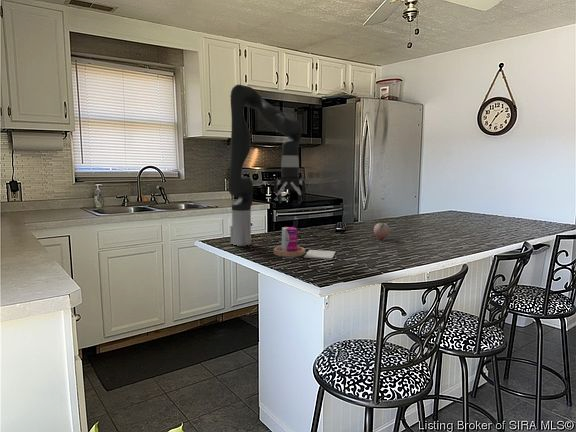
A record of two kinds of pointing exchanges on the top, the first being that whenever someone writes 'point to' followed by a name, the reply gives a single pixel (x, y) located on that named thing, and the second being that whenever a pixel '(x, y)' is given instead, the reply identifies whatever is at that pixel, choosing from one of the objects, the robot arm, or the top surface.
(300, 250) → the tan faceted ring
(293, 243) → the supplement box
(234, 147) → the robot arm
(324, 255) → the rubber mat
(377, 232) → the decorative fruit
